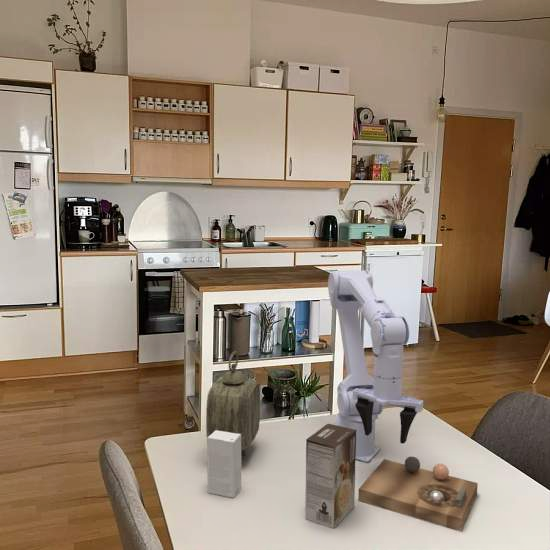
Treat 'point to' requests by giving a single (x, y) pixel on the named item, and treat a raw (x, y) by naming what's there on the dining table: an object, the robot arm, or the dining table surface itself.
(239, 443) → the skincare box
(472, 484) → the bore plate
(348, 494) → the coffee box
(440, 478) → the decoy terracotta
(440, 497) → the steel ball
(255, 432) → the ribbed lantern with ring
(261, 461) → the dining table surface
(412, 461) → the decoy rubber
